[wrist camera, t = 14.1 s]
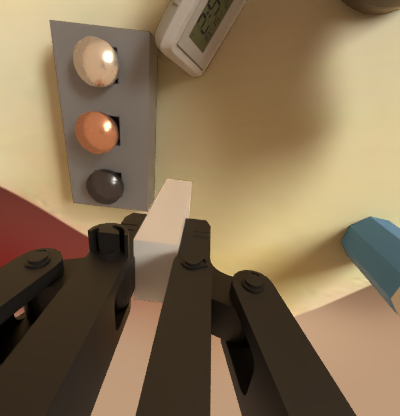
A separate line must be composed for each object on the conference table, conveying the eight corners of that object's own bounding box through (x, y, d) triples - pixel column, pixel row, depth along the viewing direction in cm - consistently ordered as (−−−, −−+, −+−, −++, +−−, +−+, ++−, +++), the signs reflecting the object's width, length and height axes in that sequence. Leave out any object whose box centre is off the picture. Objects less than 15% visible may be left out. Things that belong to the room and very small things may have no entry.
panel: (71, 30, 33) (49, 19, 29) (158, 40, 33) (149, 31, 29) (87, 191, 43) (73, 202, 39) (154, 199, 43) (147, 211, 39)
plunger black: (99, 160, 39) (84, 169, 34) (131, 164, 39) (120, 173, 34) (101, 190, 41) (87, 202, 36) (132, 193, 41) (121, 206, 36)
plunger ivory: (91, 42, 32) (70, 33, 27) (129, 47, 32) (115, 38, 27) (94, 85, 34) (75, 84, 30) (130, 90, 34) (117, 89, 30)
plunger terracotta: (91, 107, 34) (72, 109, 30) (127, 111, 34) (114, 114, 30) (94, 144, 37) (77, 151, 32) (128, 148, 37) (116, 156, 32)
